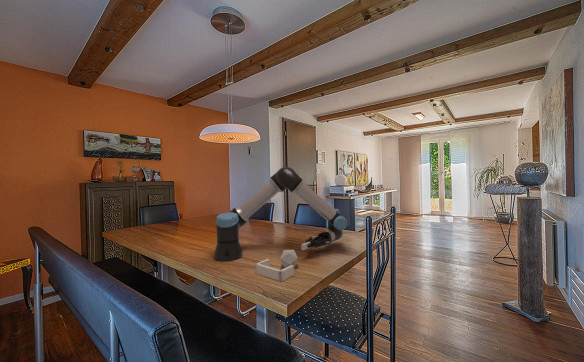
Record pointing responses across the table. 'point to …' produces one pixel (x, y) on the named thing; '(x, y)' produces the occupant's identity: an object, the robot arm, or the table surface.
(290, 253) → the die
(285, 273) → the grey u-shaped bracket
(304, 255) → the table surface
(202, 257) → the table surface
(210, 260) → the table surface
